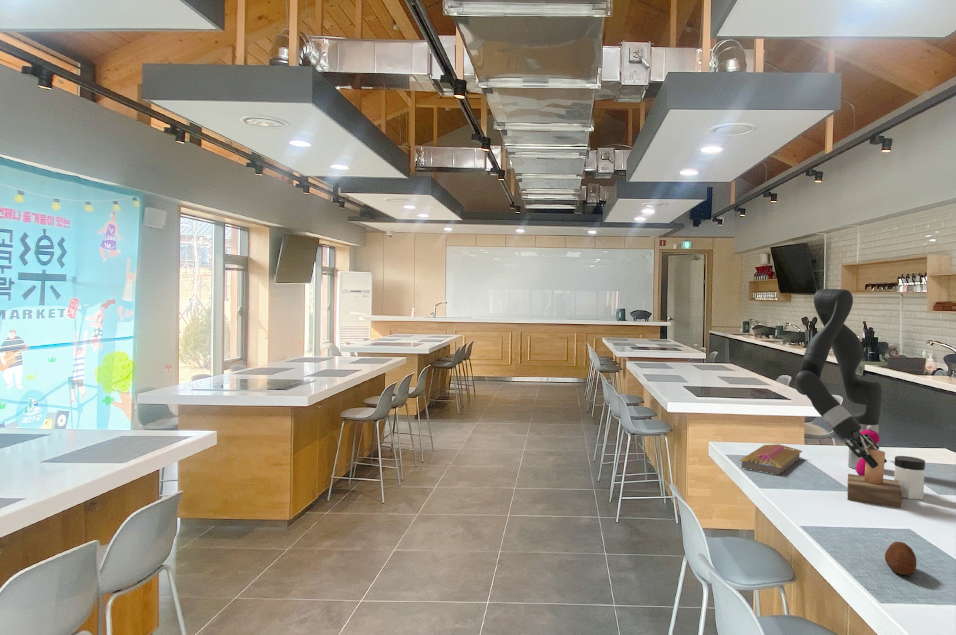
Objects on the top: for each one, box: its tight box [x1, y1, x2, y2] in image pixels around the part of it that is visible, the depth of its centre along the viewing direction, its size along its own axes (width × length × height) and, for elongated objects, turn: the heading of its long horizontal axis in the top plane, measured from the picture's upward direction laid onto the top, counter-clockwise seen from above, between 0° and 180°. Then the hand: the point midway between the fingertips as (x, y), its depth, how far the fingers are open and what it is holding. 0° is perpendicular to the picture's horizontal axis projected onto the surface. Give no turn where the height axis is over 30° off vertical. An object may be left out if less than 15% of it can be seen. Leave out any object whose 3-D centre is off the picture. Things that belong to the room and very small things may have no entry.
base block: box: [846, 473, 903, 509], centre depth 198 cm, size 14×14×5 cm
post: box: [864, 449, 886, 485], centre depth 198 cm, size 5×5×10 cm
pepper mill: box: [855, 426, 881, 476], centre depth 215 cm, size 7×7×20 cm
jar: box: [893, 455, 926, 500], centre depth 202 cm, size 9×8×12 cm
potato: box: [884, 541, 917, 576], centre depth 143 cm, size 6×12×6 cm, turn 158°
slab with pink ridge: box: [738, 443, 803, 476], centre depth 239 cm, size 35×14×6 cm, turn 141°
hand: (880, 464), depth 197 cm, fingers open, 7 cm apart
